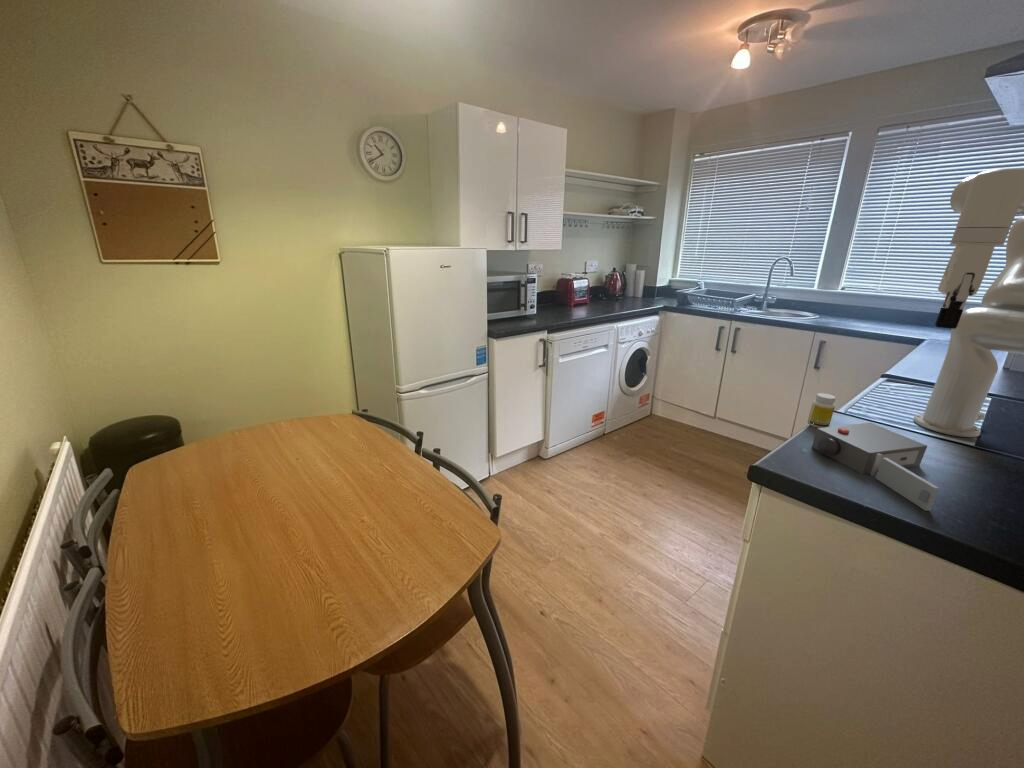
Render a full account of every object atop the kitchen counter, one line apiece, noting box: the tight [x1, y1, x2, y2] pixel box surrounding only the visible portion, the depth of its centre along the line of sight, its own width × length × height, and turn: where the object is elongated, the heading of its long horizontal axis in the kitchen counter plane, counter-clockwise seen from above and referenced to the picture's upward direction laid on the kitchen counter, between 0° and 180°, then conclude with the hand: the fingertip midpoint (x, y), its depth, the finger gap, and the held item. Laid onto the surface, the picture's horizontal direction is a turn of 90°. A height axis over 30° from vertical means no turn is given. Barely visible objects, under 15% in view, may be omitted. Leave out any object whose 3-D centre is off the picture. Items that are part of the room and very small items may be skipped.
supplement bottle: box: [807, 392, 836, 429], centre depth 109 cm, size 5×5×8 cm
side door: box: [874, 458, 940, 512], centre depth 80 cm, size 11×2×5 cm, turn 1°
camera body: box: [811, 422, 928, 477], centre depth 93 cm, size 18×13×6 cm
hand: (945, 327), depth 90 cm, fingers closed
